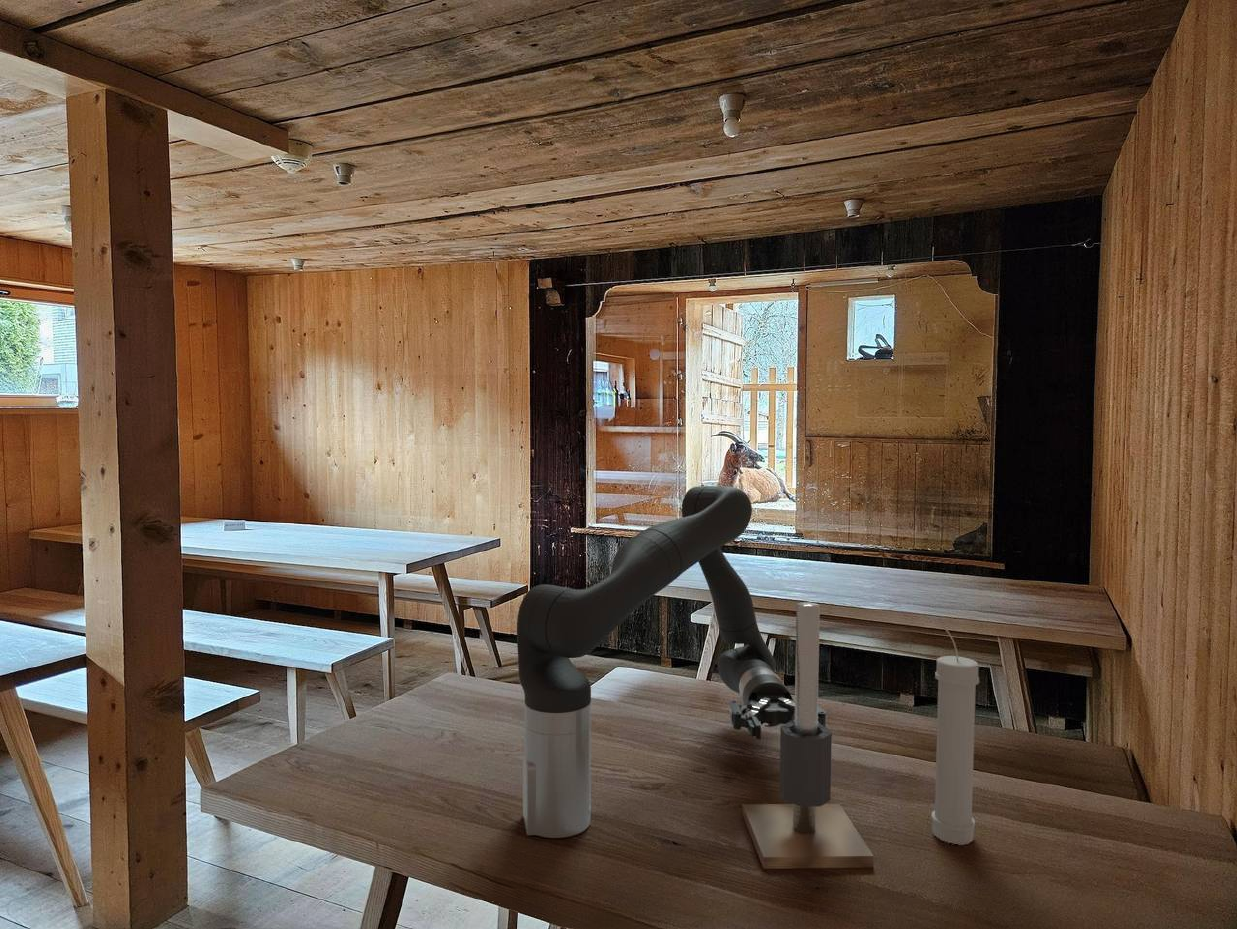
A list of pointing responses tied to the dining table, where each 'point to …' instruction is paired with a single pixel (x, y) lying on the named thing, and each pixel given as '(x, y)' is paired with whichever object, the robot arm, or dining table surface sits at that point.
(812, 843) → the post
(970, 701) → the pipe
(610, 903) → the dining table surface
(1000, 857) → the dining table surface
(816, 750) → the collar
